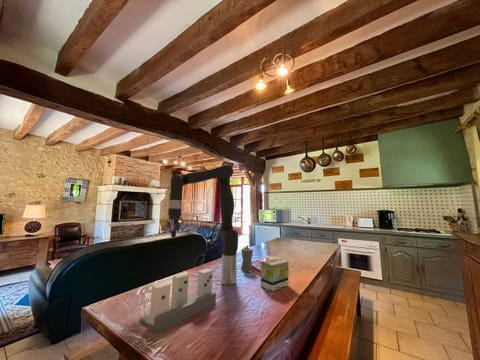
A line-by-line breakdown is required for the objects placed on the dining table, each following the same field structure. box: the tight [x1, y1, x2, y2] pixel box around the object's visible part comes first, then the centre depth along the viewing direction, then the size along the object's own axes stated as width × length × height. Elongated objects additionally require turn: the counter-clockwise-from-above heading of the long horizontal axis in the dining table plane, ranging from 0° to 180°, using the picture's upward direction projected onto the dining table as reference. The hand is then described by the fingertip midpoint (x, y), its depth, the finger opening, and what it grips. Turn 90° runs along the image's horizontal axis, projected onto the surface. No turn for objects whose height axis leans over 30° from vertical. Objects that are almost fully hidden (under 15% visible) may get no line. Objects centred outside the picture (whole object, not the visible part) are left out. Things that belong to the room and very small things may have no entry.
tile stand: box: [139, 291, 217, 334], centre depth 91 cm, size 13×31×5 cm, turn 141°
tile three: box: [196, 268, 213, 298], centre depth 100 cm, size 4×6×14 cm
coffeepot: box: [240, 245, 254, 273], centre depth 153 cm, size 15×9×18 cm, turn 13°
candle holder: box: [265, 255, 281, 261], centre depth 141 cm, size 10×10×12 cm
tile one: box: [149, 281, 172, 326], centre depth 81 cm, size 4×6×14 cm
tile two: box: [170, 272, 190, 309], centre depth 93 cm, size 4×6×14 cm
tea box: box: [260, 258, 289, 292], centre depth 122 cm, size 15×10×15 cm
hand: (173, 237), depth 118 cm, fingers closed
